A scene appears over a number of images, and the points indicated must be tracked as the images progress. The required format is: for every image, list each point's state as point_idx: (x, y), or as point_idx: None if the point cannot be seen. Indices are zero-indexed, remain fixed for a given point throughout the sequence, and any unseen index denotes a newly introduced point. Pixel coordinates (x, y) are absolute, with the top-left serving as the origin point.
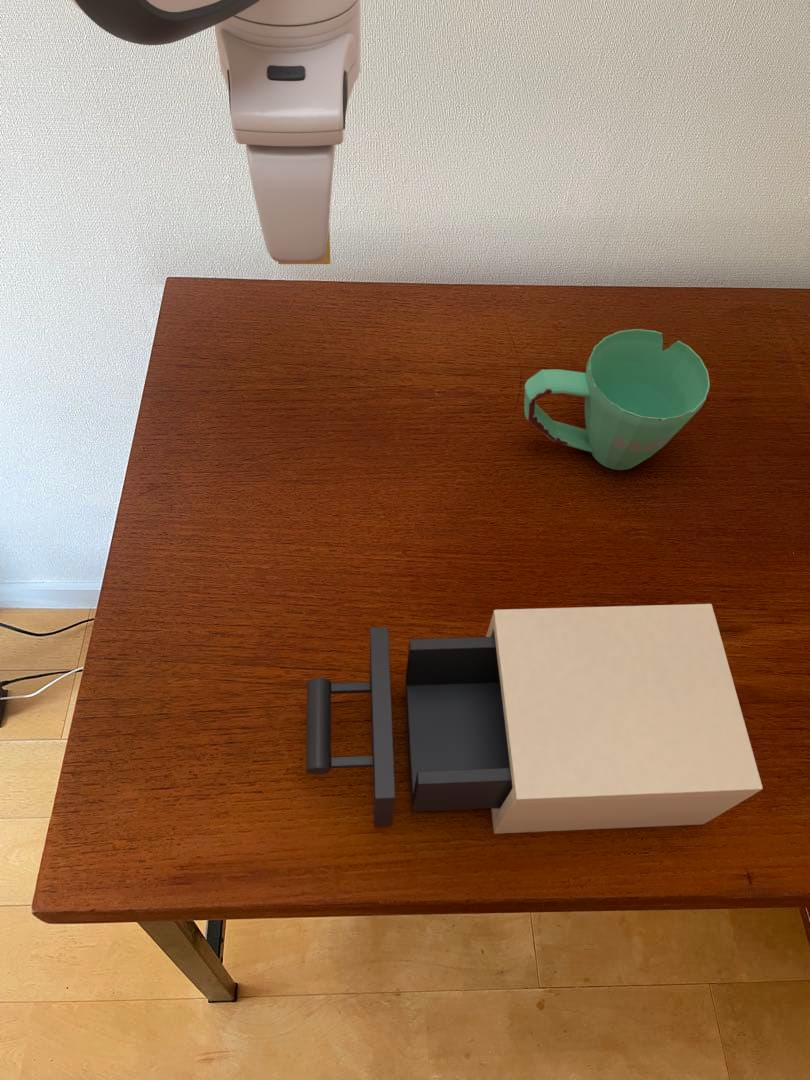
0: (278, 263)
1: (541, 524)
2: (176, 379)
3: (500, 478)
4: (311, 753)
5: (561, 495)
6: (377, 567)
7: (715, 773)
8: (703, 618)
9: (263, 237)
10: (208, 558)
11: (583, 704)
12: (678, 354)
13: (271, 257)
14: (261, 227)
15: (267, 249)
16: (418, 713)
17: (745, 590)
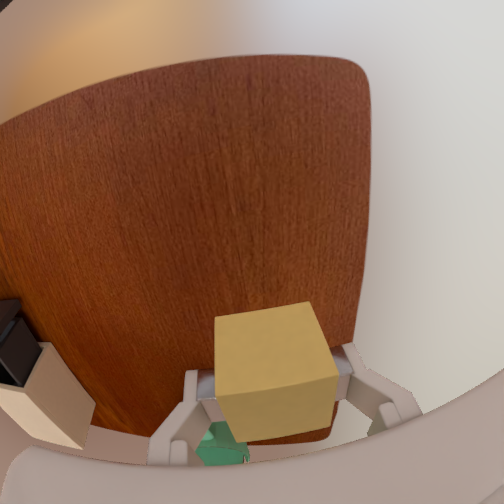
0: (215, 318)
1: (143, 374)
2: (228, 78)
3: (169, 358)
4: None
5: (168, 383)
6: (75, 294)
7: (27, 430)
8: (75, 446)
9: (8, 478)
10: (42, 177)
11: (17, 409)
12: (239, 459)
13: (24, 450)
14: (1, 494)
15: (10, 464)
16: (10, 325)
17: (143, 427)
